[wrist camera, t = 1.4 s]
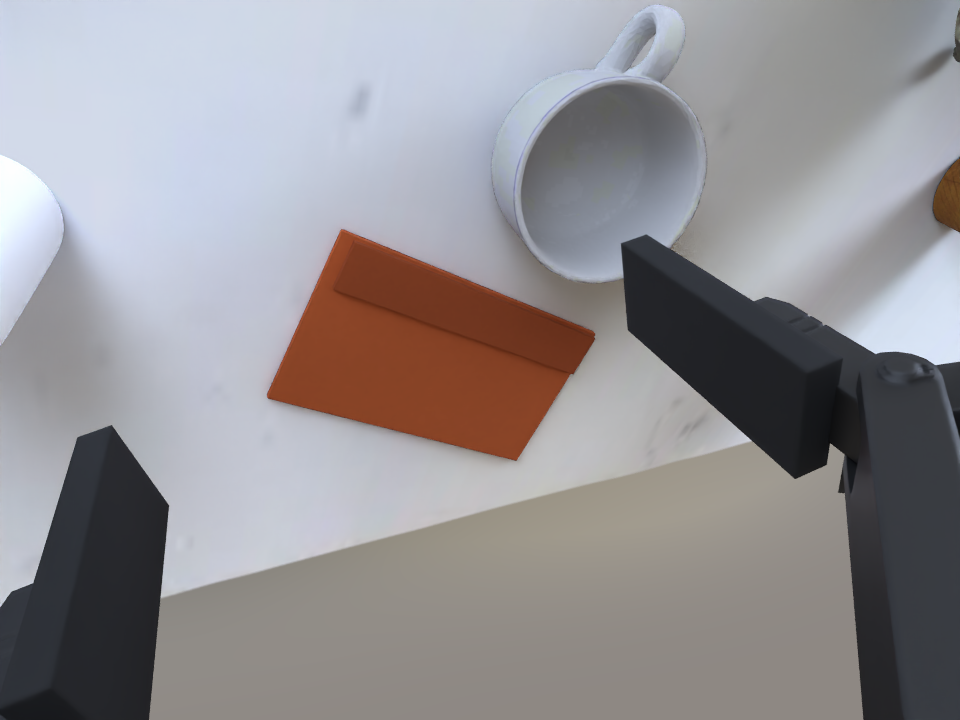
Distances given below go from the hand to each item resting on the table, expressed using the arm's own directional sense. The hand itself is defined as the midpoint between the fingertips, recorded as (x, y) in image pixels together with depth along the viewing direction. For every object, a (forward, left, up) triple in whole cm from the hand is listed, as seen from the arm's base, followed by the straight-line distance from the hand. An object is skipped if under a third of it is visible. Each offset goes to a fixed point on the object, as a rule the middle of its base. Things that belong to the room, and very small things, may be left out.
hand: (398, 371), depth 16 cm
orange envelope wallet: (+13, -9, -23) cm, 28 cm away
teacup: (+13, +8, -23) cm, 28 cm away
